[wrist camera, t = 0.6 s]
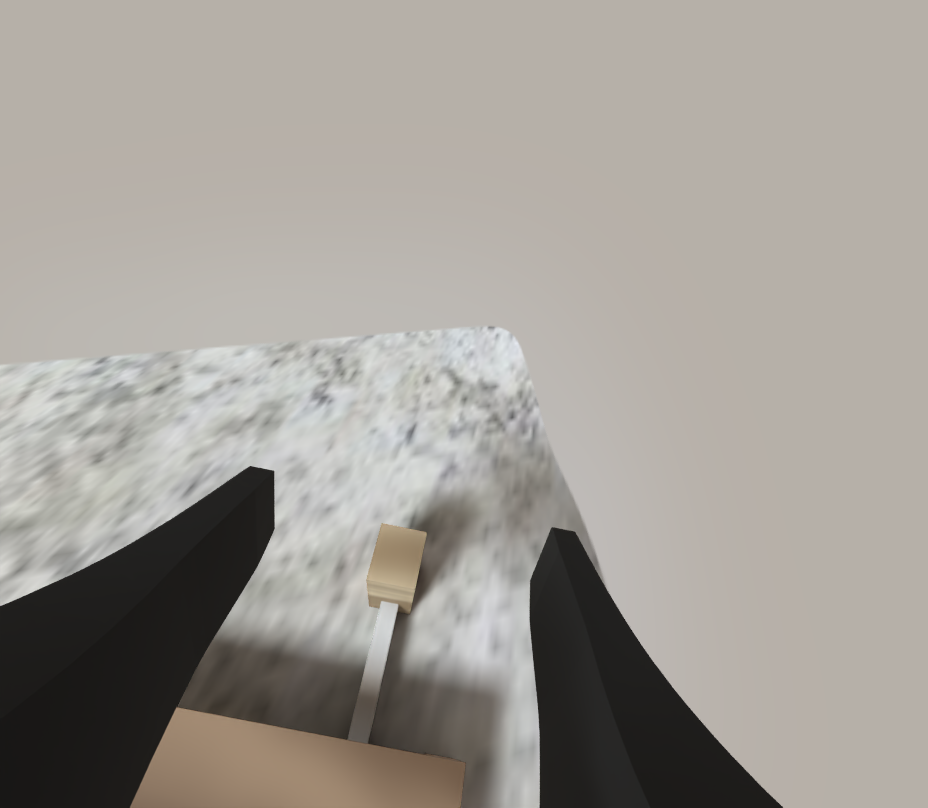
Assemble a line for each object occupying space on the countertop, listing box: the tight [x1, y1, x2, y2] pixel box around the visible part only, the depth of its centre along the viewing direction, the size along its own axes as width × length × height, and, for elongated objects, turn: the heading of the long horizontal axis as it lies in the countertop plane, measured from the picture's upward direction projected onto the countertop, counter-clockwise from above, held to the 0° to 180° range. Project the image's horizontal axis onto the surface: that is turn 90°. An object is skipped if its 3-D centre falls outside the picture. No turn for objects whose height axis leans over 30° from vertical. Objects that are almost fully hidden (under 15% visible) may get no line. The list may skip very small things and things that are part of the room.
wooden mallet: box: [347, 523, 427, 743], centre depth 24 cm, size 13×3×6 cm, turn 172°
